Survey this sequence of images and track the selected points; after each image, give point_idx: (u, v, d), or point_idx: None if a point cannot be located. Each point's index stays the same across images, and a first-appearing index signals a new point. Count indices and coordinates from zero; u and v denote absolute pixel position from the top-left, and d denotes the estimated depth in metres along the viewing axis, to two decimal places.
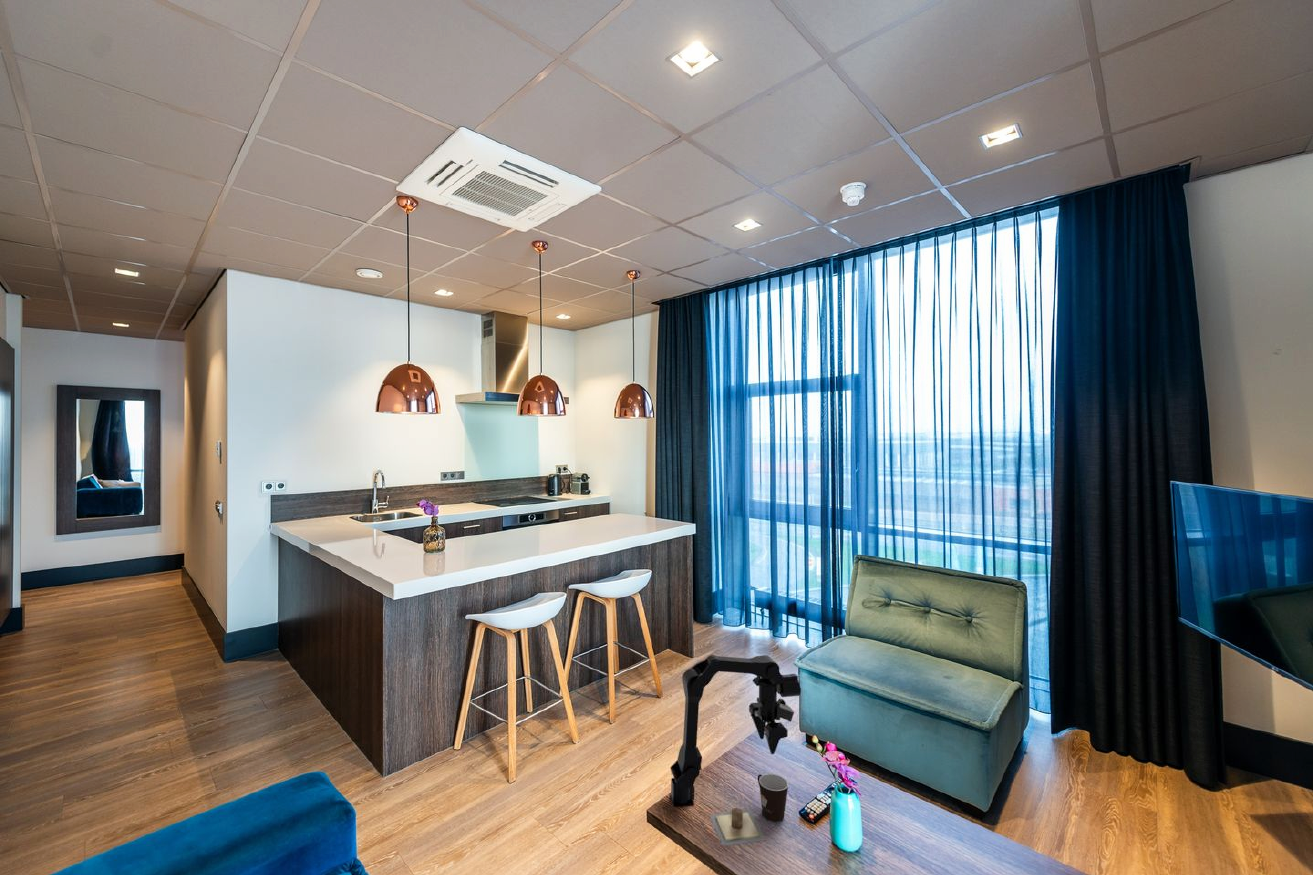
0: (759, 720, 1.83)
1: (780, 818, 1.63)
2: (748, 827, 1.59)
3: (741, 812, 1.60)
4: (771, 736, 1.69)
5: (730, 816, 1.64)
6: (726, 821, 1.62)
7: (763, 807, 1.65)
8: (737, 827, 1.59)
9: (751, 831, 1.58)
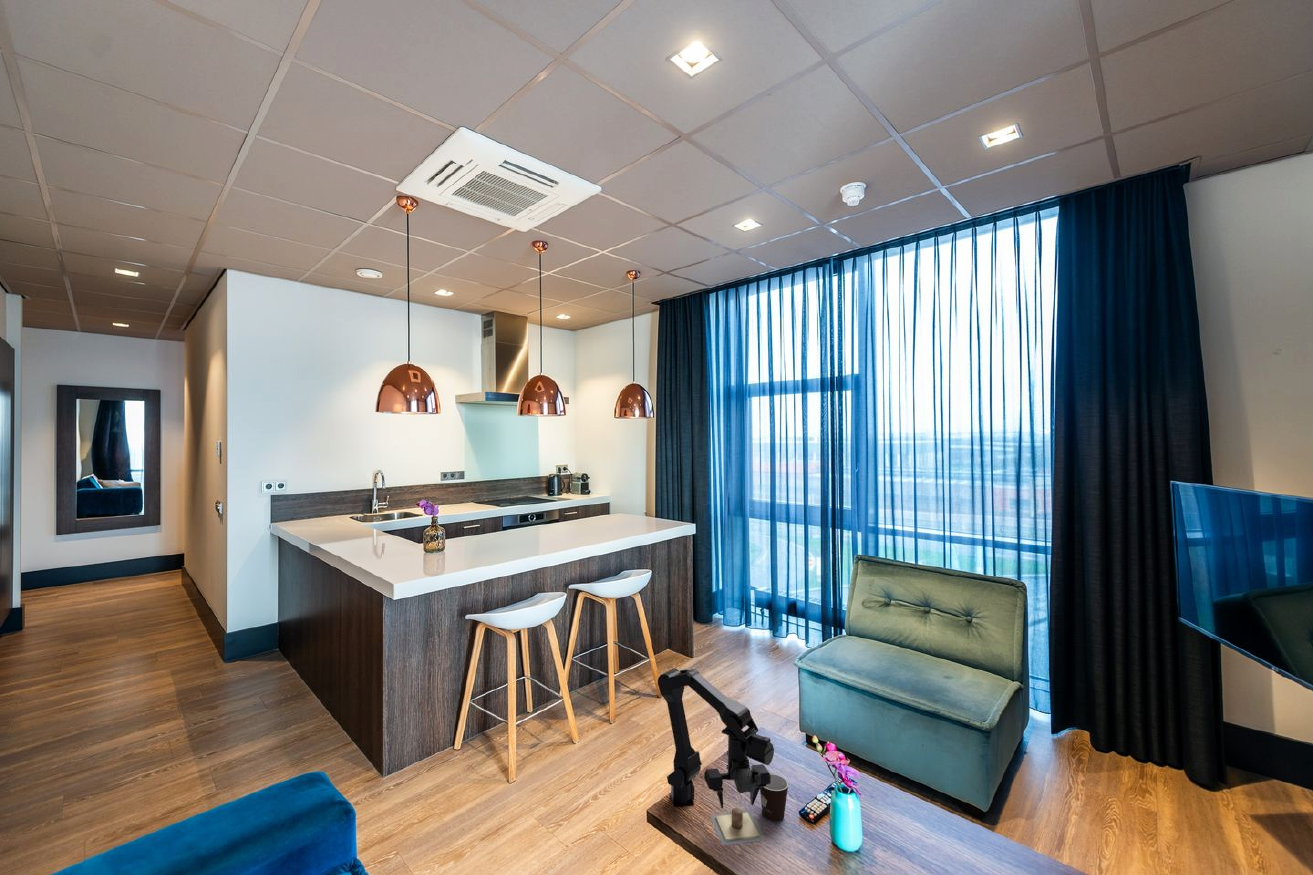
0: None
1: (780, 818, 1.63)
2: (748, 827, 1.59)
3: (741, 812, 1.60)
4: (704, 776, 1.61)
5: (730, 816, 1.64)
6: (726, 821, 1.62)
7: (763, 807, 1.65)
8: (737, 827, 1.59)
9: (751, 831, 1.58)
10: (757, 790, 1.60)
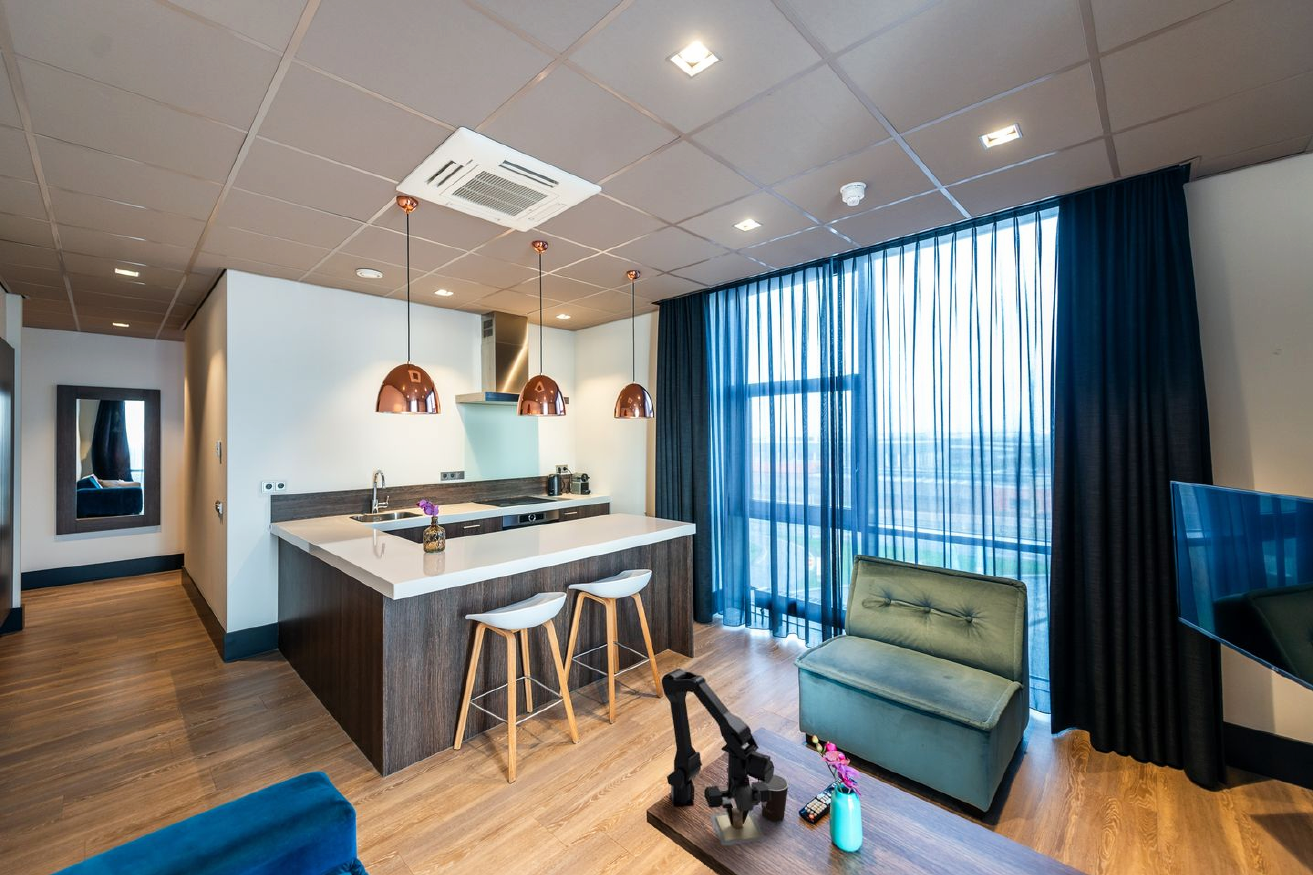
0: None
1: (780, 818, 1.63)
2: (748, 827, 1.59)
3: (741, 812, 1.60)
4: (704, 794, 1.61)
5: None
6: (726, 821, 1.62)
7: (763, 807, 1.65)
8: (737, 827, 1.59)
9: (751, 831, 1.58)
10: None
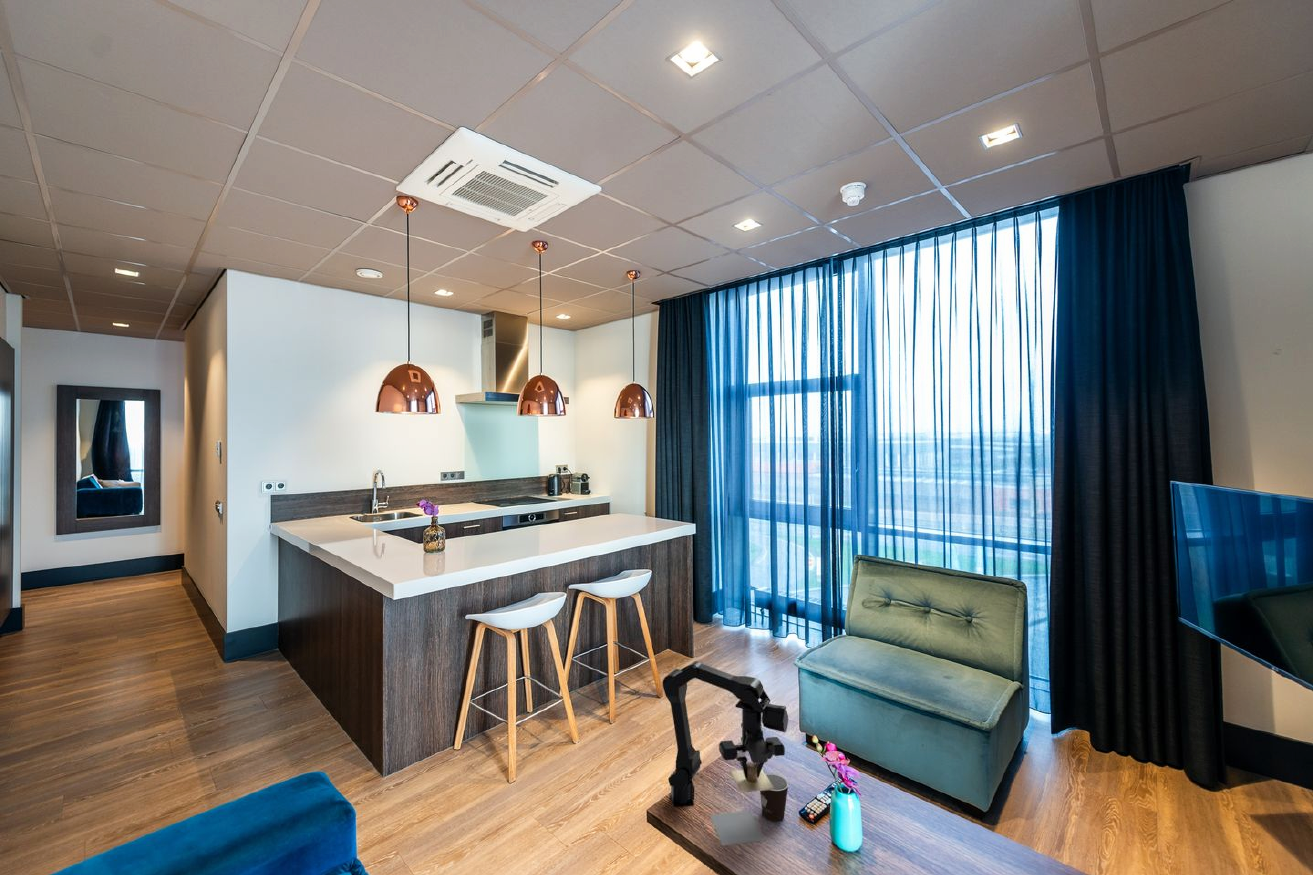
0: None
1: (780, 818, 1.63)
2: (762, 781, 1.62)
3: (755, 766, 1.63)
4: (719, 748, 1.64)
5: None
6: (740, 775, 1.65)
7: (763, 807, 1.65)
8: (752, 780, 1.61)
9: (766, 784, 1.60)
10: (762, 762, 1.62)
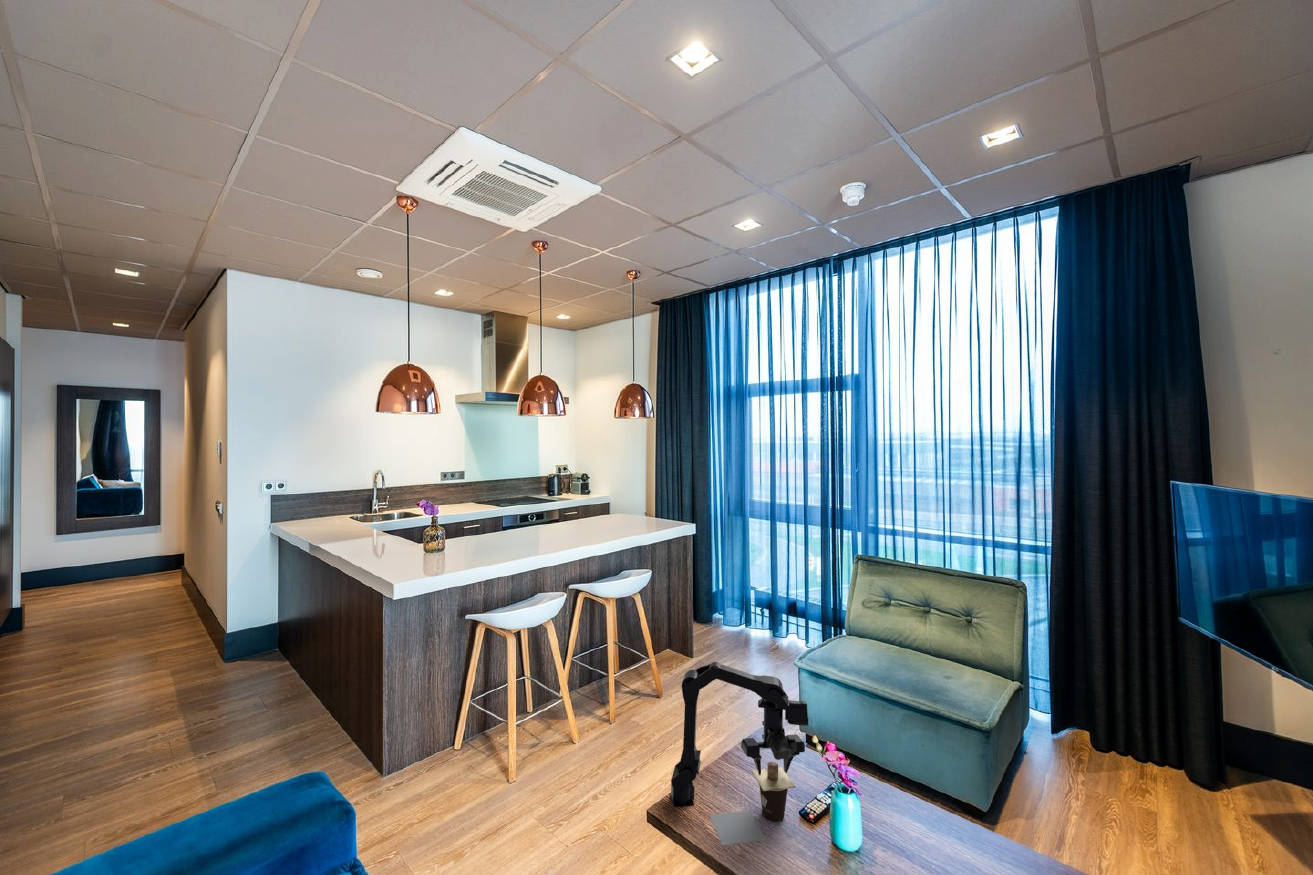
0: None
1: (780, 818, 1.63)
2: (783, 779, 1.67)
3: (777, 765, 1.67)
4: (741, 745, 1.69)
5: (765, 770, 1.72)
6: (762, 774, 1.69)
7: (763, 807, 1.65)
8: (773, 779, 1.66)
9: (787, 783, 1.65)
10: (791, 758, 1.68)
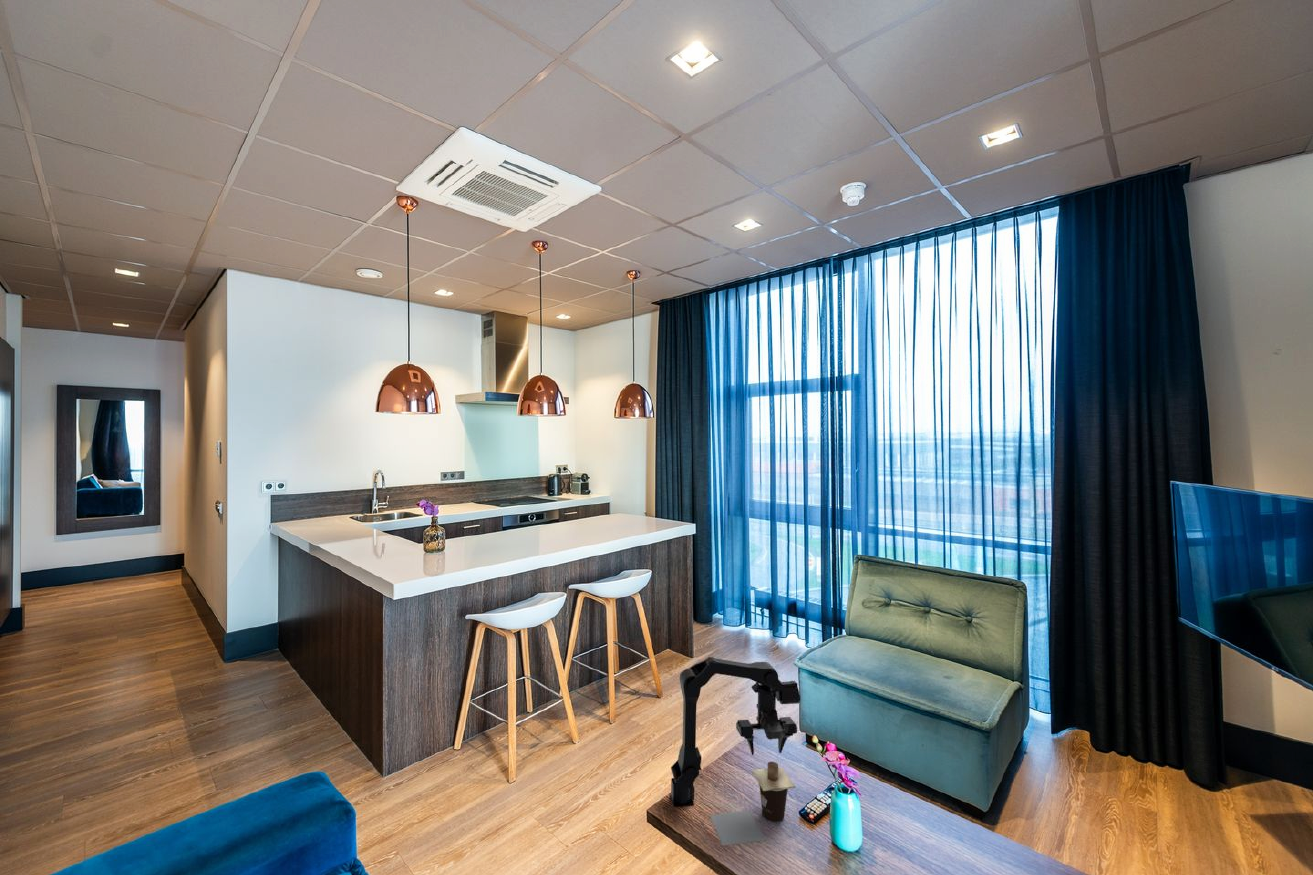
0: None
1: (780, 818, 1.63)
2: (783, 779, 1.67)
3: (777, 765, 1.67)
4: (736, 726, 1.78)
5: (765, 770, 1.72)
6: (762, 774, 1.69)
7: (763, 807, 1.65)
8: (773, 779, 1.66)
9: (787, 783, 1.65)
10: (784, 739, 1.76)
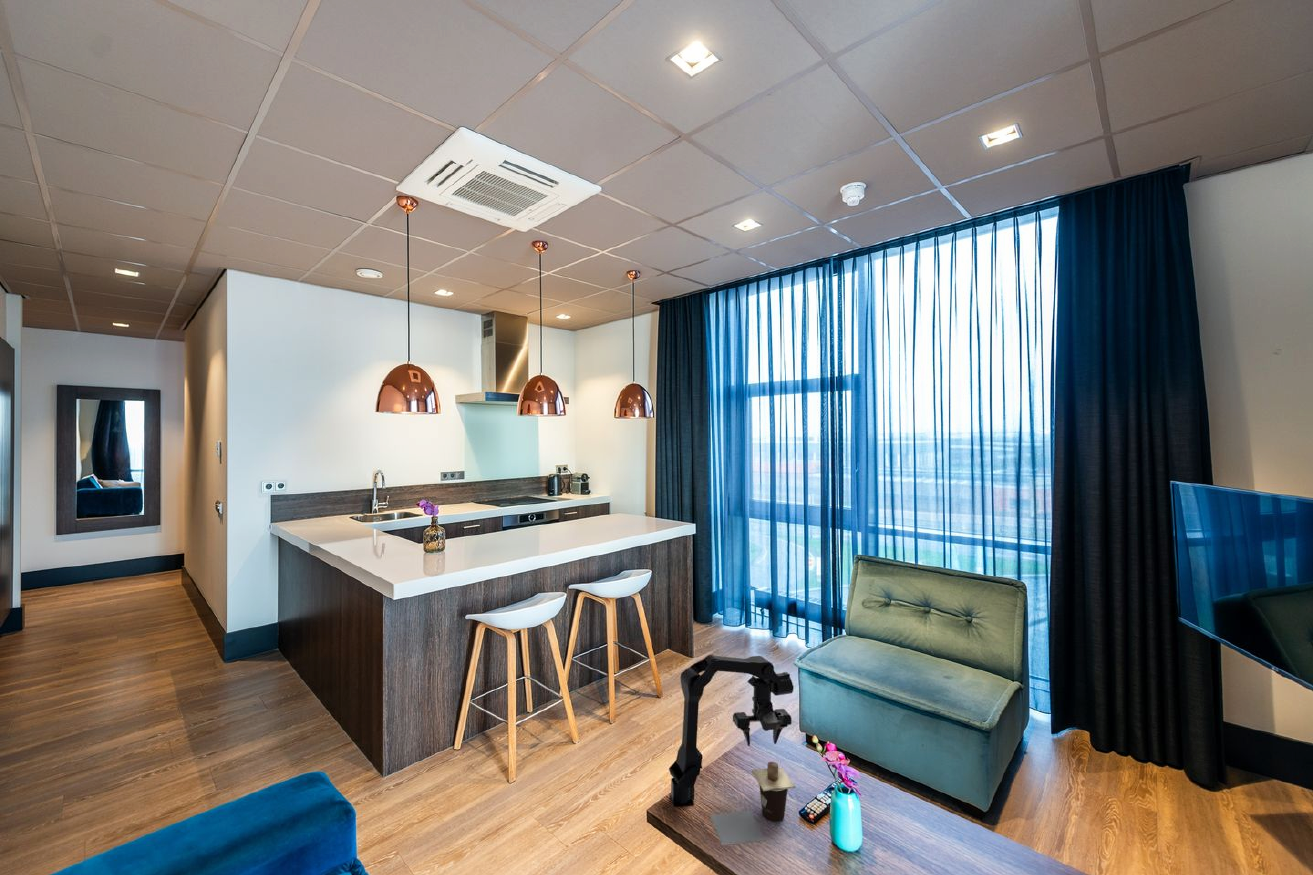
0: None
1: (780, 818, 1.63)
2: (783, 779, 1.67)
3: (777, 765, 1.67)
4: (733, 719, 1.83)
5: (765, 770, 1.72)
6: (762, 774, 1.69)
7: (763, 807, 1.65)
8: (773, 779, 1.66)
9: (787, 783, 1.65)
10: (779, 730, 1.82)
